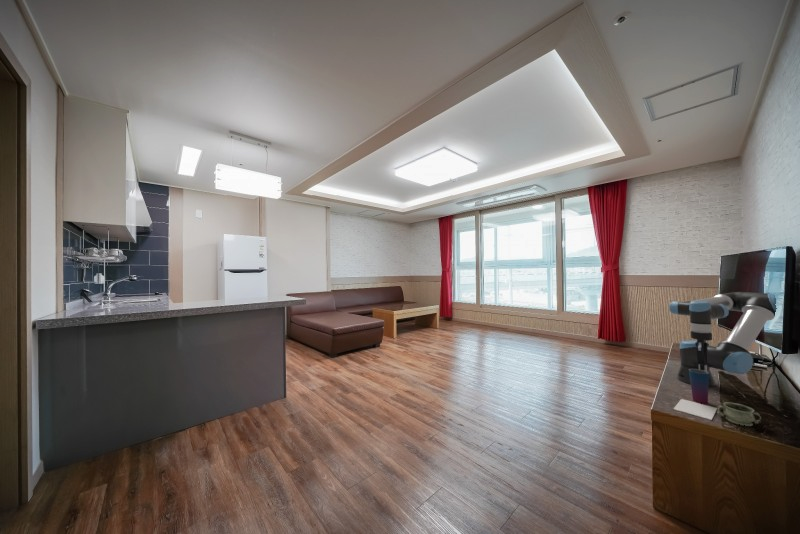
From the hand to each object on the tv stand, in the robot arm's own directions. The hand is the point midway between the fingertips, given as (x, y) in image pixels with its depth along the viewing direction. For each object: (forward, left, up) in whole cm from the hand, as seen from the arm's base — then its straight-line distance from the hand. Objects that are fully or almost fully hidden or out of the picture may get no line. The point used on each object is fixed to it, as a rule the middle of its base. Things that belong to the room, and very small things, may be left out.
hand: (703, 377), depth 143 cm
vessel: (+23, +13, -10) cm, 28 cm away
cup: (+11, 0, -10) cm, 15 cm away
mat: (+23, 0, -9) cm, 25 cm away
